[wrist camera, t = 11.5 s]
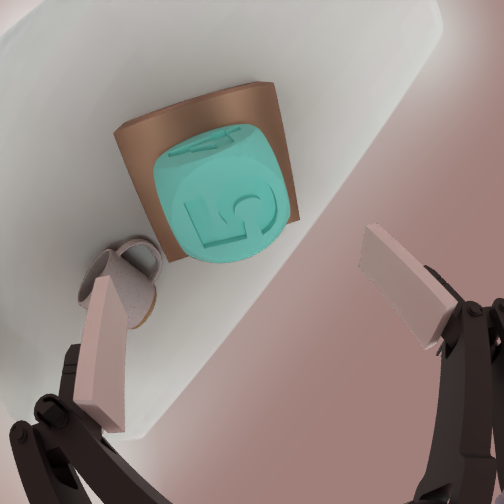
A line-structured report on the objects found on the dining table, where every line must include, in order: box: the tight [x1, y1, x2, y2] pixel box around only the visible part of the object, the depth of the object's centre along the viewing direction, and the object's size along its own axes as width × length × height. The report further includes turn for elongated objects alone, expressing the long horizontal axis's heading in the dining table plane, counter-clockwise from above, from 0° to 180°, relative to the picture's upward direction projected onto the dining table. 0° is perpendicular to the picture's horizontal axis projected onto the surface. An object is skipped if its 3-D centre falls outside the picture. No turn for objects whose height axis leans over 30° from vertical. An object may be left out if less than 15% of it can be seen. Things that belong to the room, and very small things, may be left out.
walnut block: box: [113, 82, 300, 263], centre depth 28 cm, size 14×14×6 cm
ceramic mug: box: [78, 239, 162, 329], centre depth 32 cm, size 10×8×7 cm
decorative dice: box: [153, 124, 290, 263], centre depth 22 cm, size 8×8×8 cm
